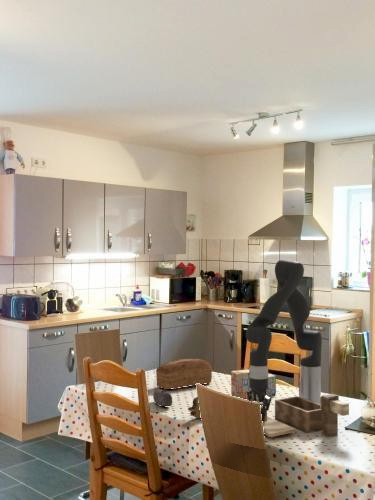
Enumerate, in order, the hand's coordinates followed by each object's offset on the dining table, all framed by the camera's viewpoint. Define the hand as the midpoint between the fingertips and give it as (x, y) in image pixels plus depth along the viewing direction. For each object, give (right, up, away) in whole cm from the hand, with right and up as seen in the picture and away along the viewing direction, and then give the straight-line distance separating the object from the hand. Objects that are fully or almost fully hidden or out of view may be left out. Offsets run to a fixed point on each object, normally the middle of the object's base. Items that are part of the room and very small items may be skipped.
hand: (258, 419), depth 221 cm
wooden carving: (-22, -3, +13) cm, 26 cm away
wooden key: (+27, +7, -12) cm, 30 cm away
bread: (-30, -3, +67) cm, 74 cm away
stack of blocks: (+4, -3, +48) cm, 48 cm away
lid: (+3, -2, -4) cm, 5 cm away
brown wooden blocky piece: (+20, -3, +1) cm, 20 cm away
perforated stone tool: (-40, -3, +31) cm, 51 cm away
